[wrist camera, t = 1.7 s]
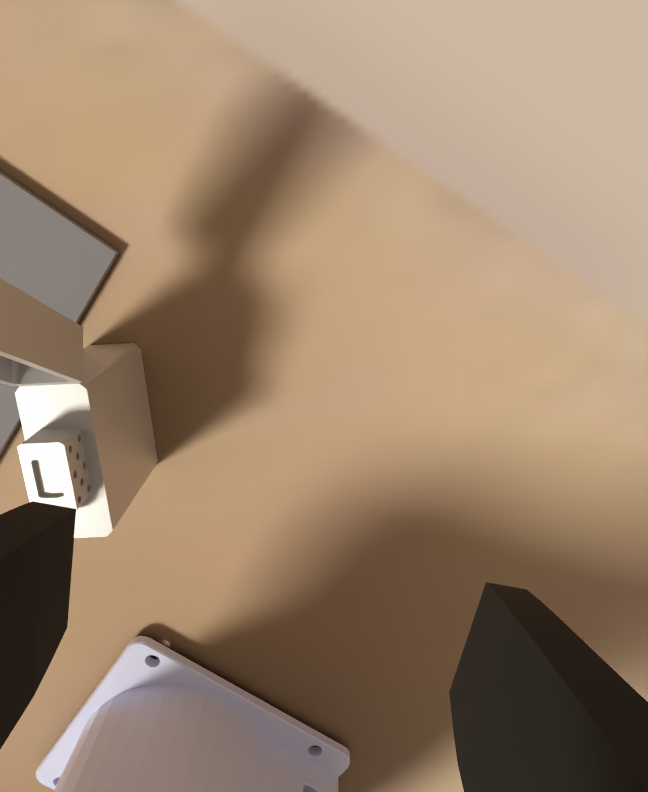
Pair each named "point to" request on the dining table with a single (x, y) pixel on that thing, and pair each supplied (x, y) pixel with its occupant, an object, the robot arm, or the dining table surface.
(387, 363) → the dining table surface
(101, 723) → the robot arm
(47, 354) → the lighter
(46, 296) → the mat
